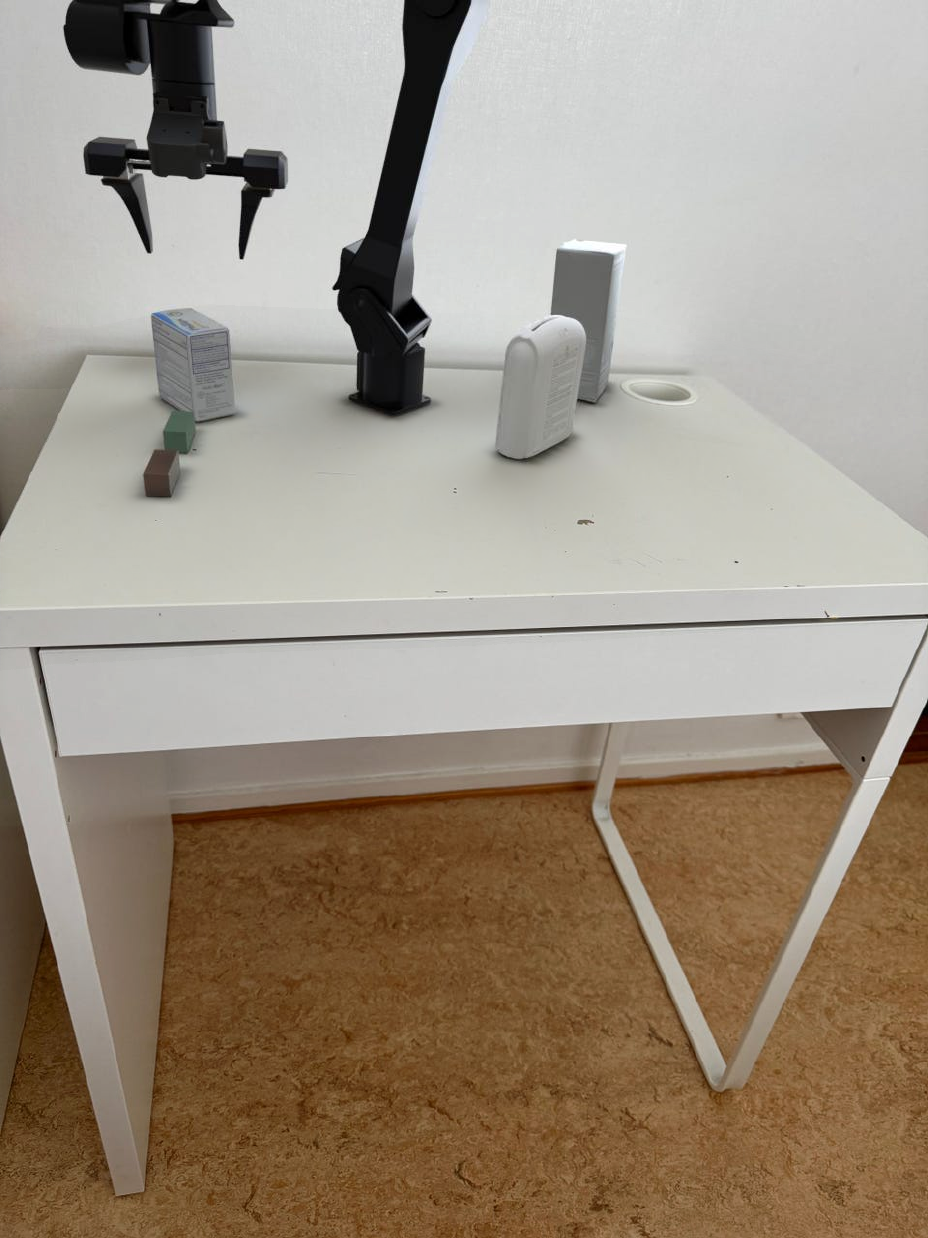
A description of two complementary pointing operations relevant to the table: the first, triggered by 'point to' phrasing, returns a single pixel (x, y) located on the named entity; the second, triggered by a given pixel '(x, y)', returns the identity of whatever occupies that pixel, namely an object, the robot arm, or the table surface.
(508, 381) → the photo printer
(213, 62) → the robot arm
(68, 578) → the table surface
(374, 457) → the table surface
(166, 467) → the walnut bar
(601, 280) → the cosmetic box
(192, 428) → the sage bar
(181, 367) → the medicine box
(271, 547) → the table surface
